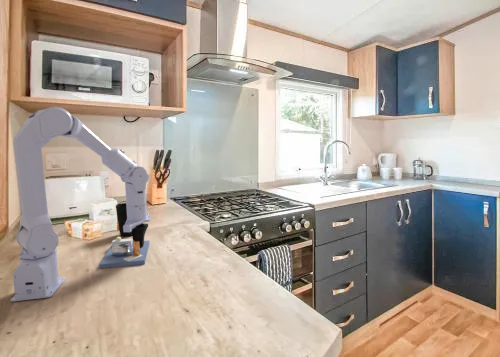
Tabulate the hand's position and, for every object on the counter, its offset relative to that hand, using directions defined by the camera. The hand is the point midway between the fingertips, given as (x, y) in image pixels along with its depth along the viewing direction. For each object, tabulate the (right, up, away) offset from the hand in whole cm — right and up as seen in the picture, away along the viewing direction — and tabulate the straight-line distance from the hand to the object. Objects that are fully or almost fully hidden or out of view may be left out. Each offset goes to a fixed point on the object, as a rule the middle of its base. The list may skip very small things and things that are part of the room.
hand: (138, 247), depth 89 cm
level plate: (-5, -3, +2) cm, 6 cm away
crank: (-4, -2, 0) cm, 4 cm away
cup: (-13, -1, +23) cm, 26 cm away
